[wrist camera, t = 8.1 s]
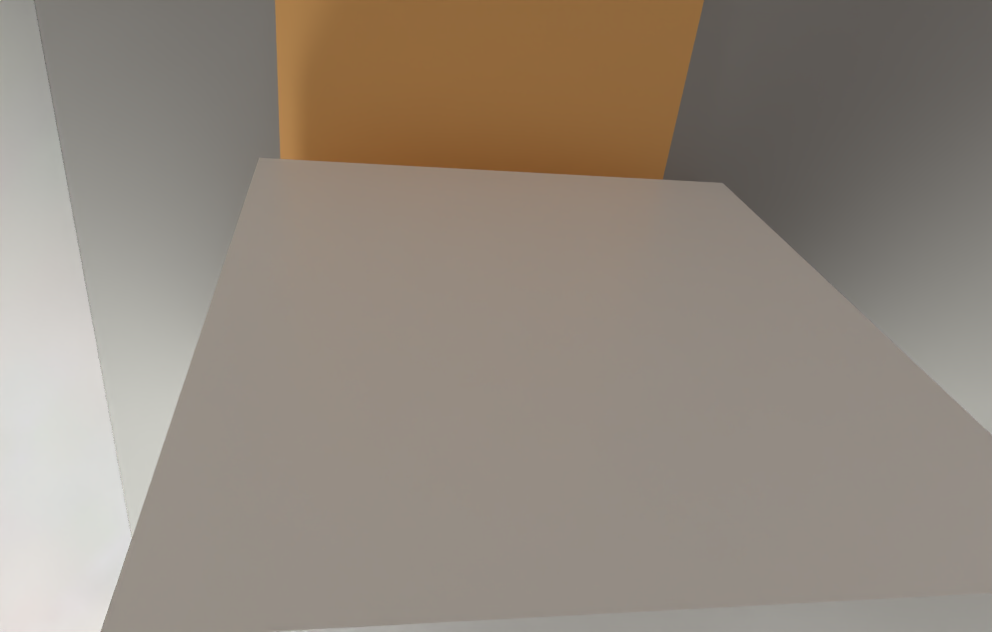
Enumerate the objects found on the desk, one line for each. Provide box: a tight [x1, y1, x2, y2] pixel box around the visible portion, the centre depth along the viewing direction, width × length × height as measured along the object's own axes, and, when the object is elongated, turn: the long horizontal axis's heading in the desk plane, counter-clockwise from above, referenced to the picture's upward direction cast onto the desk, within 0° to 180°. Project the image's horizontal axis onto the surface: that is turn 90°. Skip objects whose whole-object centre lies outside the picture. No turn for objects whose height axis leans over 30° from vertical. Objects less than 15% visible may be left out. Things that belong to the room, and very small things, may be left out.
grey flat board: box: [34, 0, 992, 537], centre depth 11 cm, size 13×20×1 cm, turn 173°
